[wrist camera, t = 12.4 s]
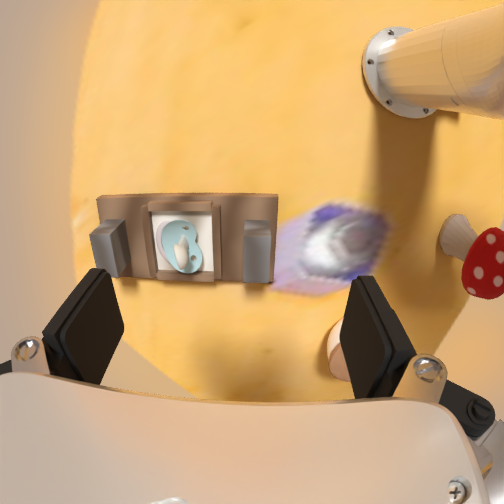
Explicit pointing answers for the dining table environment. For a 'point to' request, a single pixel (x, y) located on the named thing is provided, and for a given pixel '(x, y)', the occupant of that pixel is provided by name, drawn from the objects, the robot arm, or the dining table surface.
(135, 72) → the dining table surface
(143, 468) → the robot arm
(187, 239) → the pacifier
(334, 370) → the lidded jar
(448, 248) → the decorative mushroom
